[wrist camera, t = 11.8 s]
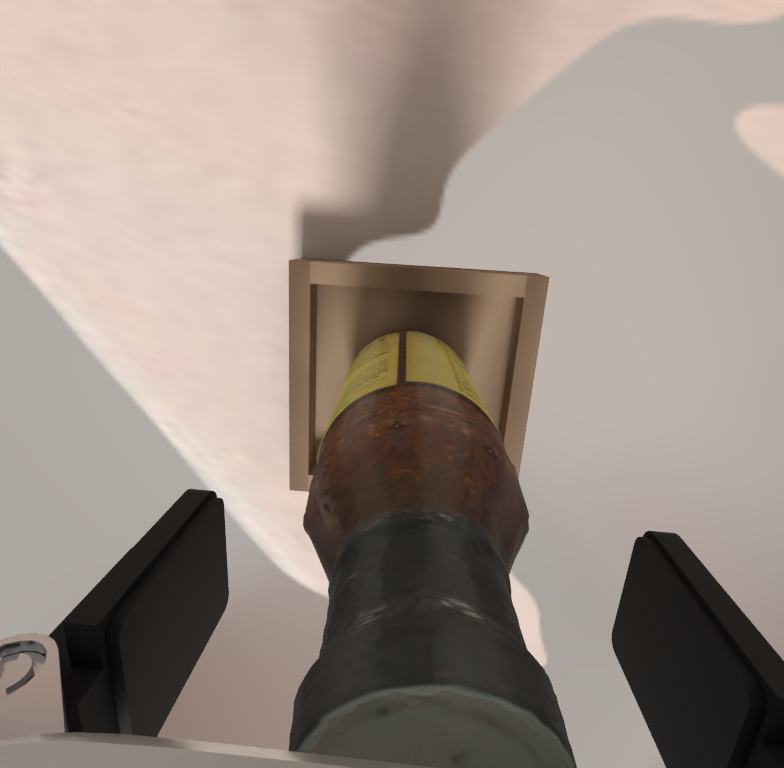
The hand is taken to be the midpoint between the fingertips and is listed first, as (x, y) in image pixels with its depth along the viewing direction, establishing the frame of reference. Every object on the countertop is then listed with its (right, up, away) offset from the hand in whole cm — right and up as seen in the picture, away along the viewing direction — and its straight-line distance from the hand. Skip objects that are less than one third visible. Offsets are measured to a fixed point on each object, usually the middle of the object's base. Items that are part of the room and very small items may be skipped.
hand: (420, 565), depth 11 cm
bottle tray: (0, +4, +15) cm, 16 cm away
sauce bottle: (0, +4, +15) cm, 15 cm away
